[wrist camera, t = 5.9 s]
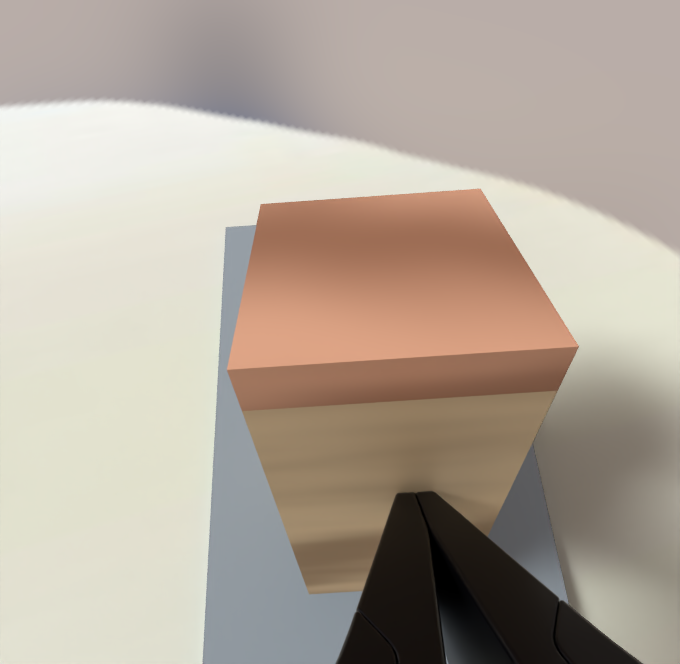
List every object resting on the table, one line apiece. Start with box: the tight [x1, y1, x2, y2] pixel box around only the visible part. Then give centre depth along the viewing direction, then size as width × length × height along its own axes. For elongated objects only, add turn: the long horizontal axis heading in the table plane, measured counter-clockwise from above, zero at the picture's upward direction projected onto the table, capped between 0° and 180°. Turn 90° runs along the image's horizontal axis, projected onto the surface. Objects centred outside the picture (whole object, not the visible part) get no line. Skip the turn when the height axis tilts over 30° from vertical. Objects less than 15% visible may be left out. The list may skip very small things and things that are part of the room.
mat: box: [203, 225, 569, 664], centre depth 18 cm, size 20×13×1 cm, turn 3°
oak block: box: [227, 189, 579, 594], centre depth 12 cm, size 5×5×11 cm
